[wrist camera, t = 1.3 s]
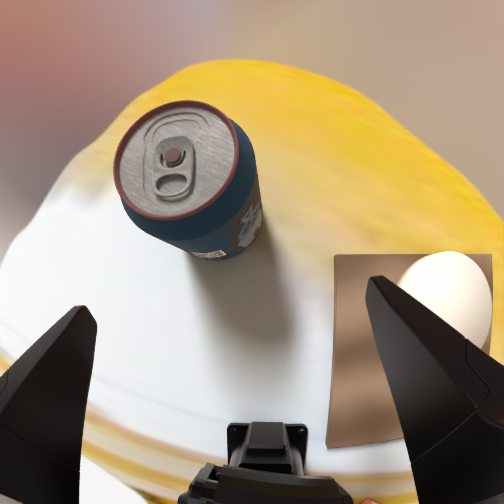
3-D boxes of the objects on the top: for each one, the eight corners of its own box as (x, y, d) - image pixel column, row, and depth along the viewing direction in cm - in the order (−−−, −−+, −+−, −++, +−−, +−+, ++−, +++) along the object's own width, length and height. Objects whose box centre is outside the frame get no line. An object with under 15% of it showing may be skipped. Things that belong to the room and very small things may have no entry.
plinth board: (472, 413, 19) (488, 422, 16) (325, 442, 21) (331, 460, 18) (485, 255, 21) (504, 251, 18) (333, 255, 22) (342, 251, 19)
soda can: (179, 182, 24) (113, 104, 12) (260, 175, 24) (250, 81, 12) (178, 263, 23) (95, 239, 11) (265, 259, 23) (257, 228, 11)
